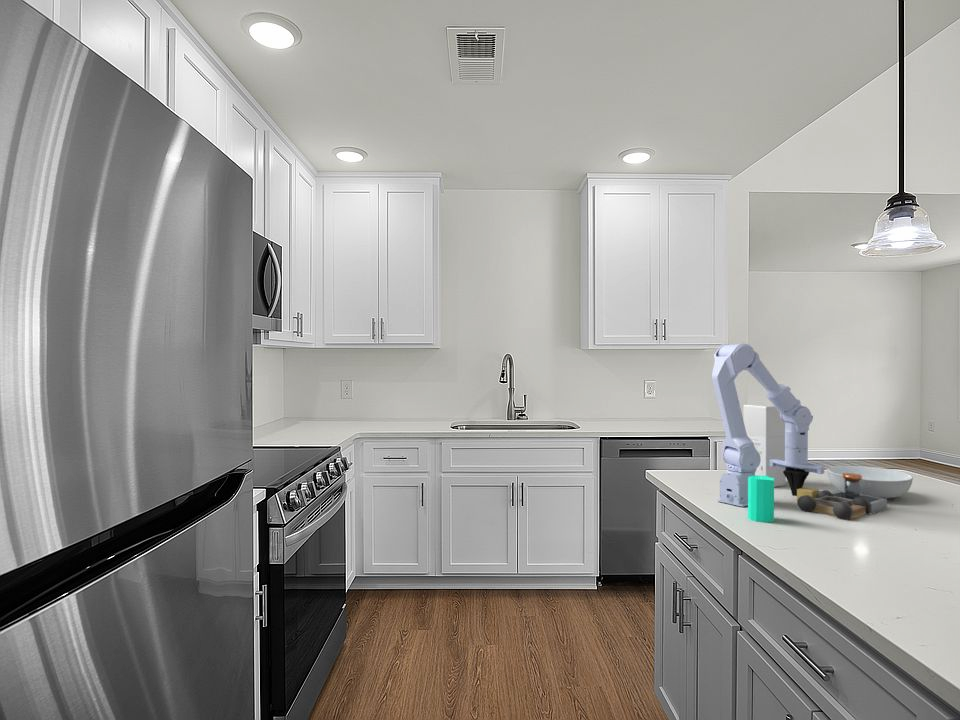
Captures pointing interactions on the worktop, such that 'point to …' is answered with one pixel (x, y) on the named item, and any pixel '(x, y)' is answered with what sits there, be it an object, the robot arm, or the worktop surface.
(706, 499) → the worktop surface
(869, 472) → the serving bowl
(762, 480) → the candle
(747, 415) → the tall white carton
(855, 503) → the trolley
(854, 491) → the pin
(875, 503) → the tray
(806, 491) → the yellow cube
